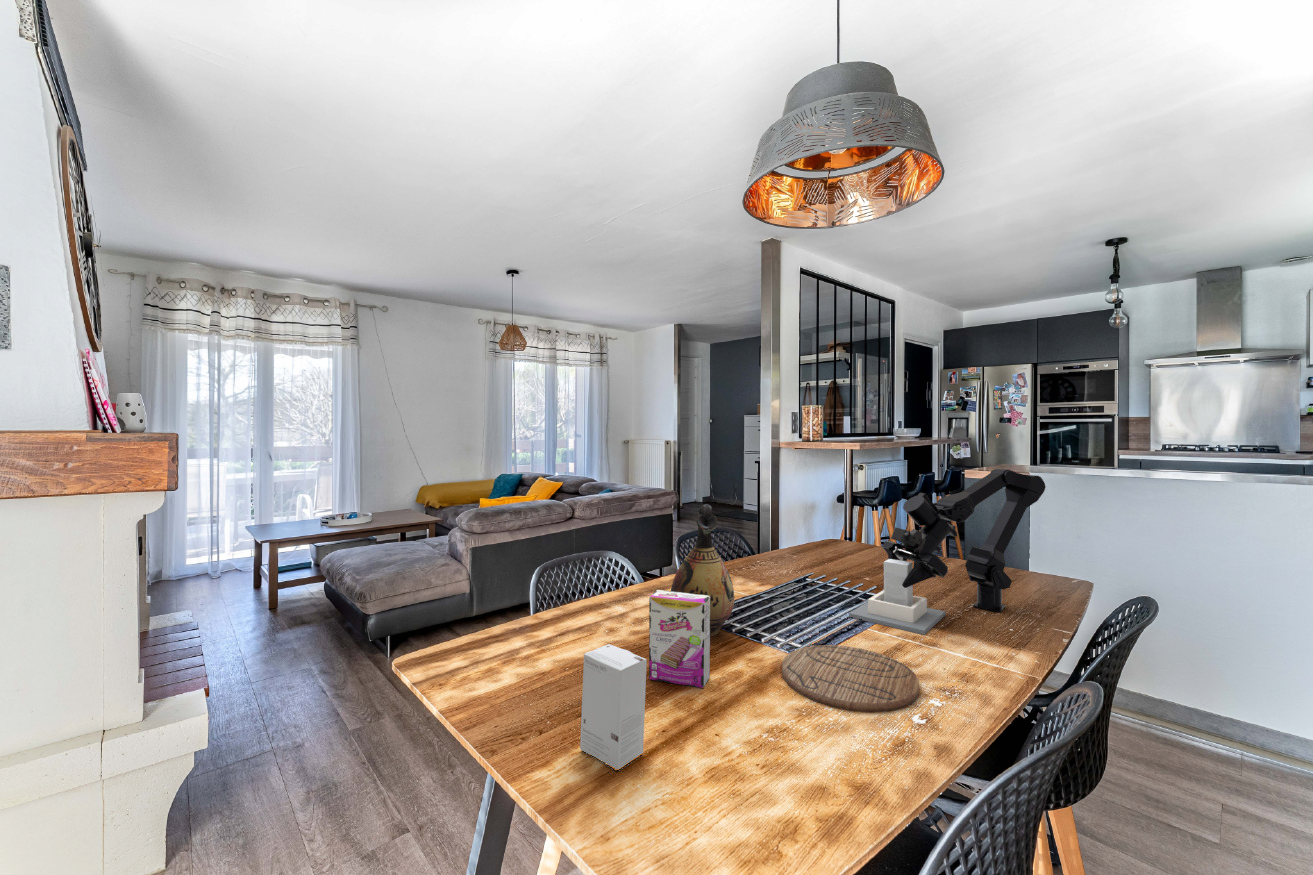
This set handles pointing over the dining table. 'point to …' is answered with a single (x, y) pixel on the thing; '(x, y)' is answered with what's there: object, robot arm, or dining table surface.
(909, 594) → the skincare box
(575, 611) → the dining table surface
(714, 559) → the ceramic jug
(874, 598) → the holder
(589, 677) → the skincare box
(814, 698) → the trivet
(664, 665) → the candy bar box
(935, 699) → the dining table surface
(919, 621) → the slate board
